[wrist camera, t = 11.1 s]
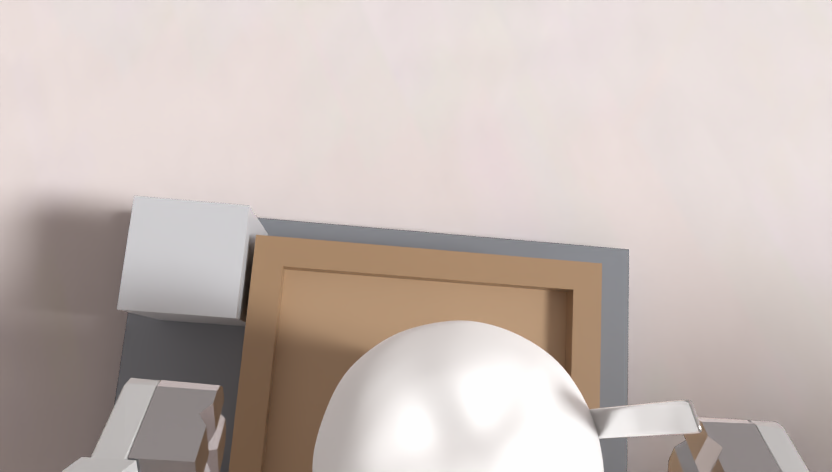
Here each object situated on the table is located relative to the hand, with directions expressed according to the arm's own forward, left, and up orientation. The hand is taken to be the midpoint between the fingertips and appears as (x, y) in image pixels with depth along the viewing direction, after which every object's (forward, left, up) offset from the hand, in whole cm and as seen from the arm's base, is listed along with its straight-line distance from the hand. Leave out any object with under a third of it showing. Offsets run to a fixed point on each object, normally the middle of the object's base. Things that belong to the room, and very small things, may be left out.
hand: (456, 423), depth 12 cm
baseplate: (+1, +1, -11) cm, 11 cm away
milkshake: (0, 0, -7) cm, 7 cm away
